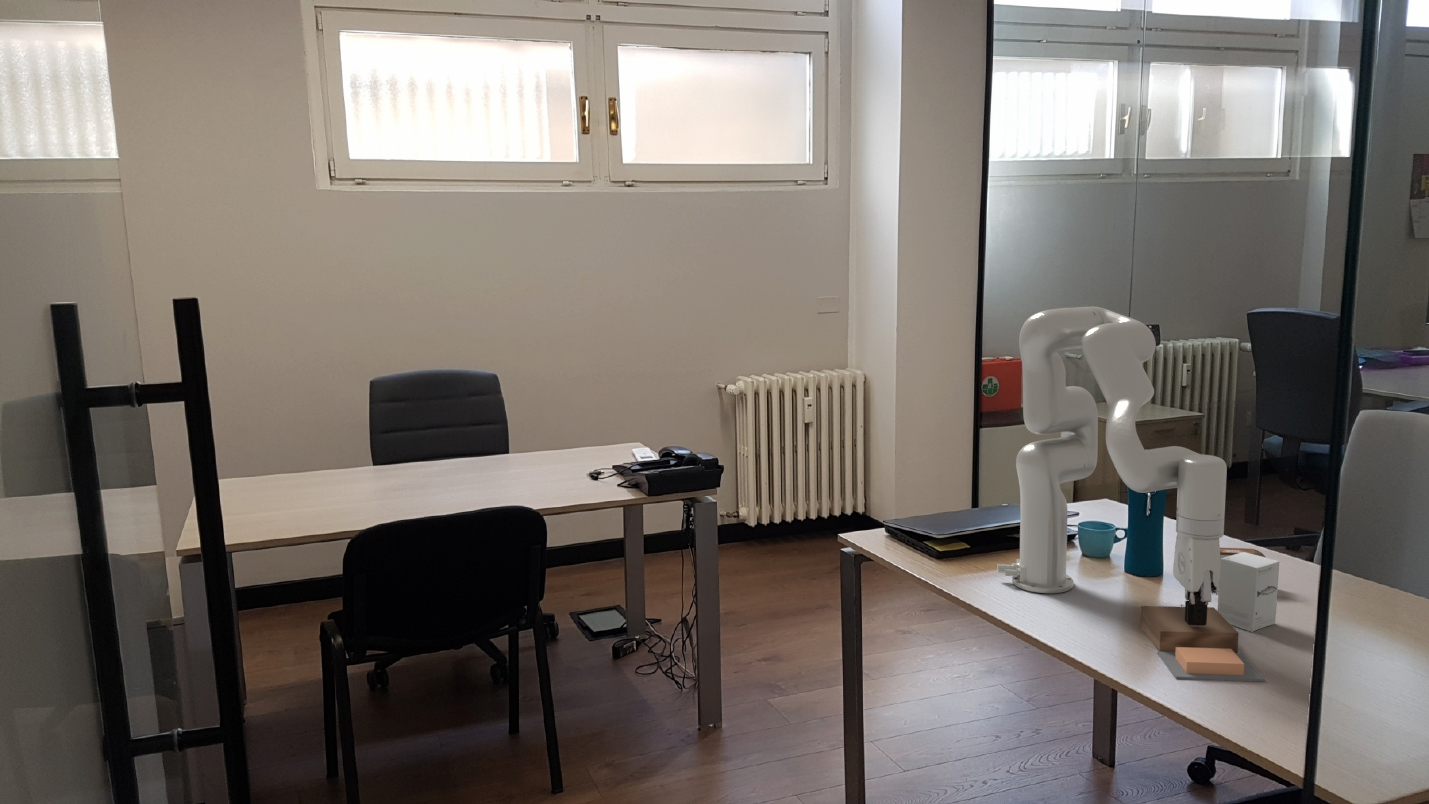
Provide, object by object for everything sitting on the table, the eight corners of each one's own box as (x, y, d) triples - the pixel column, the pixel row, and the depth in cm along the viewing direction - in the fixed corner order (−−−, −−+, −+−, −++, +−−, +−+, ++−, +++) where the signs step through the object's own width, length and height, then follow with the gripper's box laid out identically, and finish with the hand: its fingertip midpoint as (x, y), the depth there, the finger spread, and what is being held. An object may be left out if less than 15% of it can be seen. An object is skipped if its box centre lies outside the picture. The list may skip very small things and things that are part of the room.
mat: (1175, 678, 158) (1175, 676, 158) (1157, 653, 168) (1157, 651, 168) (1265, 681, 156) (1265, 679, 156) (1241, 655, 166) (1241, 653, 166)
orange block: (1175, 646, 165) (1175, 657, 165) (1186, 661, 159) (1186, 672, 159) (1231, 648, 163) (1230, 659, 164) (1244, 663, 158) (1243, 674, 158)
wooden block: (1159, 652, 168) (1160, 631, 168) (1140, 625, 180) (1140, 605, 180) (1237, 654, 166) (1238, 633, 166) (1212, 627, 178) (1213, 607, 178)
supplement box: (1252, 633, 175) (1256, 568, 173) (1215, 619, 182) (1218, 557, 180) (1277, 624, 178) (1281, 560, 176) (1239, 611, 185) (1243, 550, 183)
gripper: (1163, 513, 174) (1160, 607, 177) (1191, 537, 159) (1187, 640, 162) (1207, 513, 173) (1202, 608, 176) (1239, 538, 158) (1234, 641, 161)
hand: (1195, 623), depth 169 cm, fingers closed
